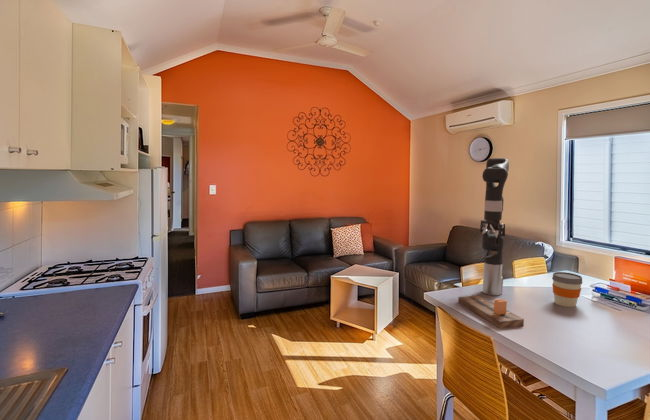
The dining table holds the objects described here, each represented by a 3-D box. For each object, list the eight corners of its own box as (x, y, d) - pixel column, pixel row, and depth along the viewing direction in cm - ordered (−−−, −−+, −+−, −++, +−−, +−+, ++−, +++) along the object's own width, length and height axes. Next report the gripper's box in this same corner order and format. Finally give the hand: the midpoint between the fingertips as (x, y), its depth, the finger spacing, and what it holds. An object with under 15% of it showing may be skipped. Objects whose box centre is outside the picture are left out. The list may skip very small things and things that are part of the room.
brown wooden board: (478, 300, 177) (478, 295, 177) (523, 325, 148) (523, 318, 147) (458, 302, 174) (458, 296, 174) (499, 328, 145) (500, 321, 145)
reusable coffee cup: (548, 303, 173) (550, 275, 171) (552, 297, 182) (554, 270, 180) (578, 310, 164) (581, 280, 163) (581, 303, 173) (584, 275, 172)
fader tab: (501, 311, 155) (502, 298, 155) (506, 313, 152) (506, 300, 152) (493, 312, 154) (494, 299, 154) (498, 314, 152) (499, 301, 151)
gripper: (511, 211, 154) (509, 246, 156) (489, 208, 168) (488, 240, 170) (496, 211, 153) (495, 246, 154) (476, 208, 167) (474, 240, 168)
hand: (491, 243), depth 162 cm, fingers open, 8 cm apart
